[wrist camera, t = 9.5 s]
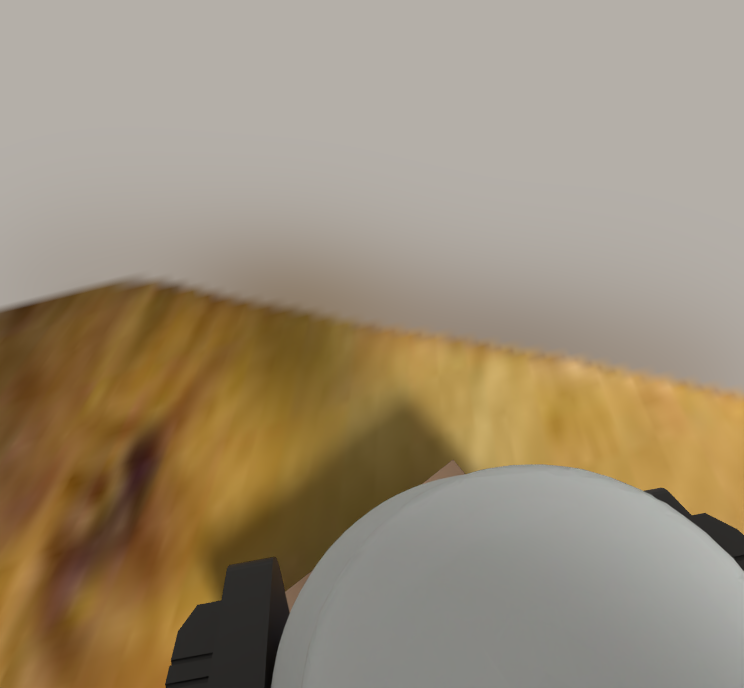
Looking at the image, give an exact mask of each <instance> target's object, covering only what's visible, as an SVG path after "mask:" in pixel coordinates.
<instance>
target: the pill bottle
mask: <svg viewBox="0 0 744 688" xmlns="http://www.w3.org/2000/svg"><path fill="white" fill-rule="evenodd" d="M271 688H744V571H743V570H742V569H741V567H740V566H739V565H738V564H737V562H736V561H735V560H734V559H733V558H732V557H731V556H730V555H729V554H728V553H727V552H726V551H725V550H724V549H723V548H722V547H720V546H719V545H718V544H717V543H716V542H715V541H714V540H713V539H712V538H711V537H710V536H709V535H708V534H707V533H706V532H704V531H703V530H702V529H701V528H699V527H698V526H697V525H695V524H694V523H693V522H691V521H690V520H689V519H687V518H686V517H685V516H683V515H682V514H680V513H679V512H678V511H676V510H675V509H673V508H672V507H671V506H669V505H668V504H667V503H665V502H663V501H660V500H658V499H656V498H655V497H654V496H652V495H651V494H649V493H646V492H644V491H642V490H640V489H637V488H635V487H633V486H630V485H628V484H626V483H623V482H621V481H618V480H616V479H613V478H611V477H607V476H604V475H600V474H597V473H594V472H590V471H587V470H583V469H578V468H571V467H563V466H553V465H510V466H503V467H496V468H489V469H484V470H479V471H476V472H472V473H469V474H464V475H458V476H452V477H448V478H443V479H438V480H435V481H431V482H428V483H424V484H421V485H419V486H416V487H413V488H411V489H409V490H406V491H404V492H402V493H400V494H398V495H396V496H394V497H392V498H390V499H388V500H386V501H384V502H383V503H381V504H380V505H378V506H377V507H375V508H374V509H372V510H371V511H369V512H368V513H367V514H365V515H364V516H363V517H362V518H360V519H359V520H358V521H356V522H355V523H354V524H353V525H352V526H351V527H350V528H348V529H347V530H346V531H345V532H344V533H343V534H342V535H341V536H340V537H339V538H338V539H337V540H336V542H335V543H334V544H333V545H332V546H331V547H330V548H329V549H328V550H327V552H326V553H325V554H324V555H323V557H322V558H321V559H320V561H319V562H318V563H317V565H316V566H315V568H314V570H313V571H312V573H311V574H310V576H309V577H308V579H307V581H306V582H305V584H304V586H303V588H302V589H301V591H300V593H299V595H298V597H297V599H296V601H295V603H294V605H293V607H292V609H291V612H290V614H289V617H288V619H287V622H286V625H285V627H284V630H283V634H282V637H281V640H280V643H279V646H278V651H277V656H276V661H275V666H274V671H273V678H272V684H271Z"/></svg>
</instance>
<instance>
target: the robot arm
mask: <svg viewBox="0 0 744 688" xmlns="http://www.w3.org/2000/svg"><path fill="white" fill-rule="evenodd" d="M644 492H646V493H649V494H651V495H652V496H654V497H655V498H656V499H658V500H660V501H663V502H665V503H667V504H668V505H669V506H671V507H672V508H673V509H675V510H676V511H678V512H679V513H680V514H682V515H683V516H685V517H686V518H687V519H689V520H690V521H691V522H693V523H694V524H695V525H697V526H698V527H699V528H701V529H702V530H703V531H704V532H706V533H707V534H708V535H709V536H710V537H711V538H712V539H713V540H714V541H715V542H716V543H717V544H718V545H719V546H720V547H722V548H723V549H724V550H725V551H726V552H727V553H728V554H729V555H730V556H731V557H732V558H733V559H734V560H735V561H736V562H737V564H738V565H739V566H740V567H741V569H742V570H743V571H744V535H743V534H742V533H741V532H740V531H739V530H737V529H735V528H734V527H732V526H730V525H728V524H726V523H724V522H722V521H720V520H718V519H716V518H714V517H712V516H710V515H708V514H706V513H703V514H697V515H691V514H690V513H689V512H688V511H687V510H686V509H685V508H684V507H683V506H682V505H681V504H680V503H679V502H678V501H677V500H676V499H675V498H674V497H673V496H672V495H671V494H670V493H669V492H668V491H667V490H666V489H664V488H657V489H651V490H646V491H644ZM289 614H290V611H289V607H288V603H287V598H286V594H285V589H284V585H283V581H282V576H281V572H280V568H279V564H278V561H277V559H276V557H271V558H265V559H260V560H254V561H249V562H243V563H238V564H232V565H229V566H228V568H227V571H226V577H225V583H224V589H223V595H222V601H216V602H211V603H205V604H200V605H197V606H196V608H195V609H194V610H193V612H192V613H191V615H190V616H189V617H188V619H187V620H186V621H185V623H184V624H183V625H182V627H181V628H180V630H179V631H178V634H177V638H176V642H175V646H174V650H173V654H172V658H171V663H172V664H171V666H170V667H169V671H168V675H167V679H166V683H165V685H166V688H271V684H272V678H273V671H274V666H275V661H276V656H277V651H278V646H279V643H280V640H281V637H282V634H283V630H284V627H285V625H286V622H287V619H288V617H289Z"/></svg>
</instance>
